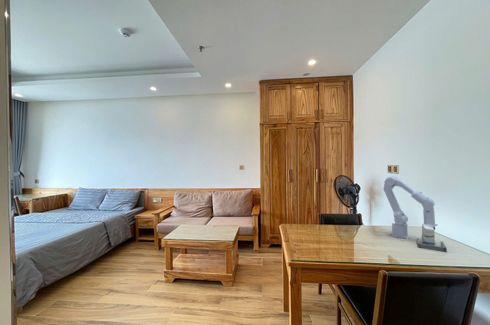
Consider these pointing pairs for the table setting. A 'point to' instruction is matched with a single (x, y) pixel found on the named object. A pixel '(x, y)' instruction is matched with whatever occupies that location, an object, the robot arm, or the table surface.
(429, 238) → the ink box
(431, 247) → the bay
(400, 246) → the table surface
